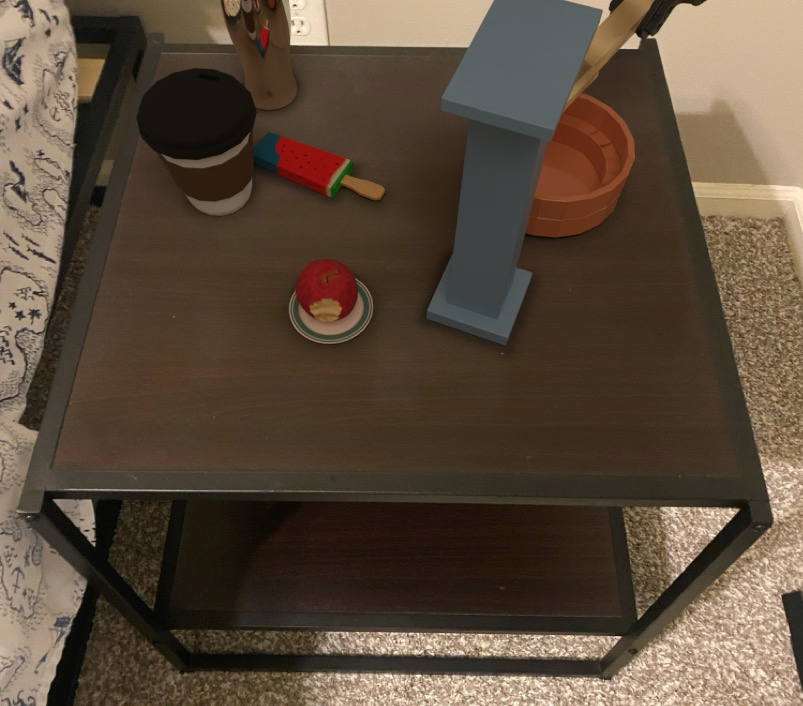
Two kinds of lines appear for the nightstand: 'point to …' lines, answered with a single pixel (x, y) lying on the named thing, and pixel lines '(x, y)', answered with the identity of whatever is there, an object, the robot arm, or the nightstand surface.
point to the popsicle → (311, 167)
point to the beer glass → (263, 48)
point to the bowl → (582, 170)
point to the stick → (609, 41)
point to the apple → (329, 303)
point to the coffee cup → (202, 136)
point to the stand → (506, 152)
